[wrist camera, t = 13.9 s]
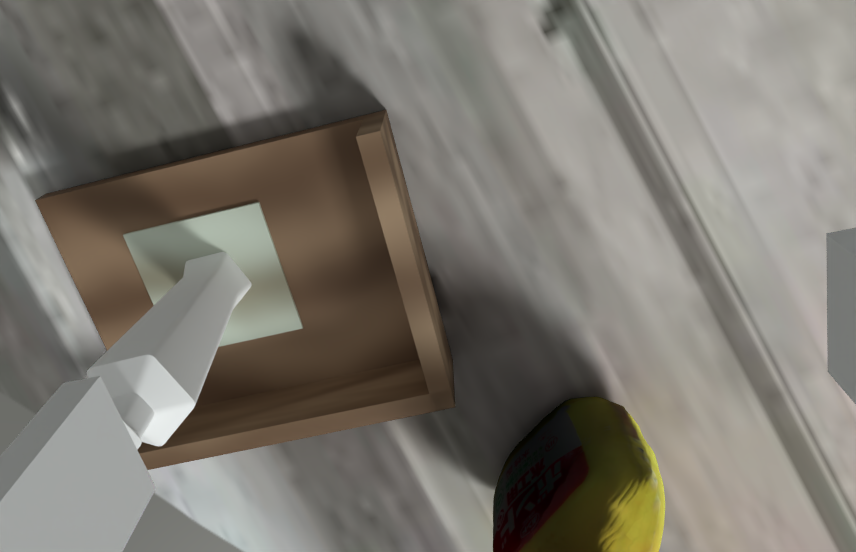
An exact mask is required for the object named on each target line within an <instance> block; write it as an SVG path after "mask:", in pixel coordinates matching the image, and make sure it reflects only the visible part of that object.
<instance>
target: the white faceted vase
mask: <svg viewBox="0 0 856 552" xmlns="http://www.w3.org/2000/svg"><path fill="white" fill-rule="evenodd" d="M250 288H251V282H250V280H249V279H248V278H247V277H246V275H245V274H244V273H243V272H242V270H241V269H240V268H239V267H238V266H237V264H236V263H235V262H234V261H233V259H232V258H231V257H230V256H229V254H227V253H226V252H219V253H215V254H211V255H207V256H203V257H199V258H195V259H191V260H188V261H186V263H185V269H184V275H183V278H182V279H181V280H180V281H179V282H178V283H177V284H176V285H175V286H174V287H173V288H172V289H171V290H170V291H168V292H167V293H166V294H165V295H164V296H163V297H162V298H161V299H160V300H159V301H158V302H157V303H156V304H155V305H154V306H153V307H152V308H151V309H150V310H149V311H148V312H147V313H146V314H145V315H144V316H143V317H142V318H141V319H140V320H139V321H138V322H137V323H135V324H134V325H133V326H132V327H131V328H130V329H129V330H128V331H127V332H126V333H125V334H124V335H123V336H122V337H121V338H120V339H119V340H118V341H117V342H116V343H115V344H114V345H113V346H112V347H111V348H110V349H109V350H108V351H107V352H106V353H105V354H103V355H102V356H101V357H100V358H99V359H98V360H97V361H96V362H95V363H94V364H93V365H92V366H91V367H90V368H89V369H88V370H87V378H91V377H96V376H101V378H102V380H103V382H104V384H105V386H106V388H107V390H108V392H109V394H110V396H111V398H112V400H113V402H114V404H115V406H116V408H117V410H118V412H119V414H120V416H121V418H122V420H123V422H124V424H125V426H126V428H127V430H128V432H129V434H130V436H131V438H132V440H133V442H134V444H135V446H136V448H137V449H138V448H139V447H140V446H141V444H142V442H144V443H147V444H151V445H154V446H163V445H164V444H165V443H166V441H167V440H168V439H169V438H170V437H171V435H172V434H173V433H174V432H175V431H176V429H177V428H178V427H179V426H180V424H181V423H182V422H183V421H184V420H185V418H186V417H187V416H188V415H189V413H190V412H191V411H192V410H193V409H194V407H195V405H196V402H197V400H198V397H199V395H200V392H201V389H202V387H203V384H204V382H205V379H206V377H207V374H208V372H209V369H210V367H211V364H212V362H213V359H214V356H215V354H216V351H217V349H218V346H219V344H220V341H221V339H222V336H223V334H224V331H225V329H226V326H227V323H228V321H229V318H230V316H231V313H232V311H233V309H234V308H235V307H236V305H237V304H238V303H239V302H240V300H241V299H242V298H243V296H244V295H245V294H246V293H247V291H248V290H249V289H250Z"/></svg>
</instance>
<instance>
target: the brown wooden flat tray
mask: <svg viewBox="0 0 856 552" xmlns="http://www.w3.org/2000/svg"><path fill="white" fill-rule="evenodd" d="M35 201H36V203H37V205H38V207H39V209H40V212H41V214H42V216H43V218H44V220H45V222H46V224H47V226H48V228H49V230H50V232H51V234H52V237H53V239H54V241H55V243H56V245H57V247H58V249H59V251H60V253H61V255H62V257H63V260H64V262H65V264H66V266H67V268H68V270H69V272H70V274H71V276H72V278H73V280H74V282H75V285H76V287H77V289H78V291H79V293H80V295H81V297H82V299H83V301H84V303H85V305H86V307H87V310H88V312H89V314H90V316H91V318H92V320H93V322H94V324H95V326H96V328H97V330H98V332H99V335H100V337H101V339H102V341H103V343H104V345H105V347H106V349H107V351H108V350H109V349H110V348H111V347H112V346H113V345H114V344H115V343H116V342H117V341H118V340H119V339H120V338H121V337H122V336H123V335H124V334H125V333H126V332H127V331H128V330H129V329H130V328H131V327H132V326H133V325H134V324H135V323H137V322H138V321H139V320H140V319H141V318H142V317H143V316H144V315H145V314H146V313H147V312H148V311H149V310H150V309H151V308H152V307H153V306H154V305H155V304H156V303H157V302H158V301H159V300H160V299H161V298H162V297H163V296H164V295H165V294H166V293H167V292H168V291H170V290H171V289H172V288H173V287H174V286H175V285H176V284H177V283H178V282H179V281H180V280H181V279H182V278H183V275H184V269H185V263H186V261H188V260H191V259H195V258H199V257H203V256H207V255H211V254H215V253H219V252H226V253H227V254H229V256H230V257H231V258H232V259H233V261H234V262H235V263H236V264H237V266H238V267H239V268H240V269H241V270H242V272H243V273H244V274H245V275H246V277H247V278H248V279H249V280H250V282H251V288H250V289H249V290H248V291H247V293H246V294H245V295H244V296H243V298H242V299H241V300H240V302H239V303H238V304H237V305H236V307H235V308H234V309H233V311H232V313H231V316H230V318H229V321H228V323H227V326H226V329H225V331H224V334H223V336H222V339H221V341H220V344H219V346H218V349H217V351H216V354H215V356H214V359H213V362H212V364H211V367H210V369H209V372H208V374H207V377H206V379H205V382H204V384H203V387H202V389H201V392H200V395H199V397H198V400H197V402H196V405H195V407H194V409H193V410H192V411H191V412H190V413H189V415H188V416H187V417H186V418H185V420H184V421H183V422H182V423H181V424H180V426H179V427H178V428H177V429H176V431H175V432H174V433H173V434H172V435H171V437H170V438H169V439H168V440H167V441H166V443H165V444H164V445H163V446H154V445H151V444H147V443H144V442H142V444H141V446H140V447H139V448H138V449H137V450H138V452H139V454H140V456H141V458H142V460H143V462H144V464H145V466H146V468H147V470H150V469H155V468H160V467H164V466H169V465H174V464H179V463H184V462H189V461H194V460H199V459H204V458H209V457H214V456H218V455H223V454H228V453H233V452H238V451H243V450H248V449H253V448H258V447H263V446H268V445H273V444H277V443H282V442H287V441H292V440H297V439H302V438H307V437H312V436H317V435H322V434H327V433H331V432H336V431H341V430H346V429H351V428H356V427H361V426H366V425H371V424H376V423H381V422H386V421H390V420H395V419H400V418H405V417H410V416H415V415H420V414H425V413H430V412H435V411H440V410H445V409H449V408H454V407H455V392H454V374H453V359H452V355H451V352H450V348H449V344H448V340H447V337H446V333H445V329H444V325H443V322H442V318H441V314H440V310H439V306H438V303H437V299H436V295H435V291H434V288H433V284H432V280H431V276H430V273H429V269H428V265H427V261H426V257H425V254H424V250H423V246H422V242H421V239H420V235H419V231H418V227H417V224H416V220H415V216H414V212H413V208H412V205H411V201H410V197H409V193H408V190H407V186H406V182H405V178H404V175H403V171H402V167H401V163H400V159H399V156H398V152H397V148H396V144H395V141H394V137H393V133H392V129H391V126H390V122H389V118H388V114H387V111H386V110H383V111H379V112H375V113H371V114H367V115H363V116H359V117H355V118H351V119H347V120H343V121H339V122H335V123H331V124H327V125H322V126H318V127H314V128H310V129H306V130H302V131H298V132H294V133H290V134H286V135H282V136H278V137H274V138H270V139H266V140H262V141H258V142H254V143H250V144H246V145H242V146H238V147H233V148H229V149H225V150H221V151H217V152H213V153H209V154H205V155H201V156H197V157H193V158H189V159H185V160H181V161H177V162H173V163H169V164H165V165H161V166H157V167H153V168H148V169H144V170H140V171H136V172H132V173H128V174H124V175H120V176H116V177H112V178H108V179H104V180H100V181H96V182H92V183H88V184H84V185H80V186H76V187H72V188H68V189H63V190H59V191H55V192H51V193H47V194H45V195H43V196H41V197H40V198H38V199H37V200H35Z"/></svg>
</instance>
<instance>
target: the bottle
mask: <svg viewBox="0 0 856 552" xmlns="http://www.w3.org/2000/svg"><path fill="white" fill-rule="evenodd" d="M664 517H665V496H664V486H663V481H662V478H661V475H660V472H659V468H658V464H657V460H656V457H655V454H654V452H653V450H652V449H651V447H650V446H649V445H648V444H647V442H646V441H645V439H644V438H643V436H642V433H641V431H640V428H639V426H638V425H637V423H636V422H635V421H634V419H633V418H632V417H631V416H630V415H629V413H628V412H627V411H626V410H625V408H624V407H623V406H621V405H618V404H616V403H613V402H610V401H608V400H606V399H603V398H600V397H584V398H575V399H569V400H567V401H565V402H563V403H562V404H560V405H559V406H558V407H557V408H555V409H554V410H553V411H552V412H551V413H550V414H548V415H547V416H546V417H545V418H544V419H543V420H542V421H541V422H540V423H539V424H538V425H537V426H536V427H535V428H534V429H533V430H532V431H531V432H530V433H529V434H528V435H527V436H526V437H525V438H524V439H523V440H522V441H521V442H520V443H519V444H518V445H517V446H516V447H515V449H514V450H513V451H512V453H511V454H510V456H509V457H508V459H507V461H506V463H505V465H504V467H503V469H502V472H501V475H500V477H499V480H498V483H497V487H496V490H495V494H494V505H493V552H659V548H660V544H661V539H662V534H663V527H664Z"/></svg>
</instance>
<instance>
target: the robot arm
mask: <svg viewBox="0 0 856 552" xmlns="http://www.w3.org/2000/svg"><path fill="white" fill-rule="evenodd" d="M827 337H828V372H829V374H830V375H831V376H832V377H833V378H834V379H835V381H836V382H837V383H838V384H839V385H840V387H841V388H842V389H843V390H844V391H845V392H846V394H847V395H848V396H849V397H850V398H851V399H852V401H853V402H854V403H855V404H856V228H852V229H847V230H842V231H837V232H832V233H827ZM155 489H156V486H155V484H154V482H153V480H152V478H151V476H150V474H149V472H148V470H147V468H146V466H145V464H144V462H143V460H142V458H141V456H140V454H139V452H138V450H137V448H136V446H135V444H134V442H133V440H132V438H131V436H130V434H129V432H128V430H127V428H126V426H125V424H124V422H123V420H122V418H121V416H120V414H119V412H118V410H117V408H116V406H115V404H114V402H113V400H112V398H111V396H110V394H109V392H108V390H107V388H106V386H105V384H104V382H103V380H102V378H101V376H96V377H91V378H86V379H81V380H76V381H71V382H66V383H63V384H62V385H61V386H60V387H59V388H58V390H57V391H56V392H55V393H54V394H53V395H52V397H51V398H50V399H49V400H48V401H47V402H46V403H45V405H44V406H43V407H42V408H41V409H40V410H39V412H38V413H37V414H36V415H35V416H34V417H33V418H32V420H31V421H30V422H29V423H28V424H27V425H26V427H25V428H24V429H23V430H22V431H21V432H20V434H19V435H18V436H17V437H16V438H15V439H14V441H13V442H12V443H11V444H10V445H9V446H8V447H7V449H6V450H5V451H4V452H3V453H2V455H1V456H0V552H122V551H123V549H124V547H125V546H126V544H127V542H128V540H129V538H130V536H131V534H132V533H133V531H134V529H135V527H136V525H137V523H138V521H139V519H140V518H141V516H142V514H143V512H144V510H145V508H146V506H147V504H148V503H149V501H150V499H151V497H152V495H153V493H154V491H155Z"/></svg>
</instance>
